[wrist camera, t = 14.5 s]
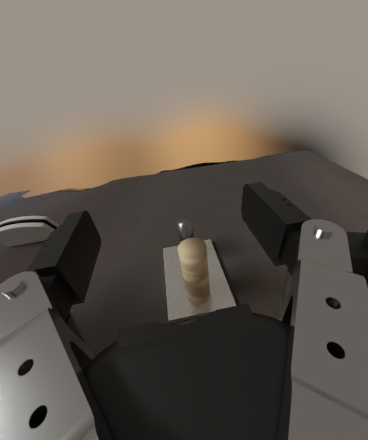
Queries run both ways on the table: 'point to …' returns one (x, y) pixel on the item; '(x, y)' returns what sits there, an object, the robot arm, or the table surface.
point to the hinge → (26, 230)
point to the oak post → (195, 269)
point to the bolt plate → (175, 283)
